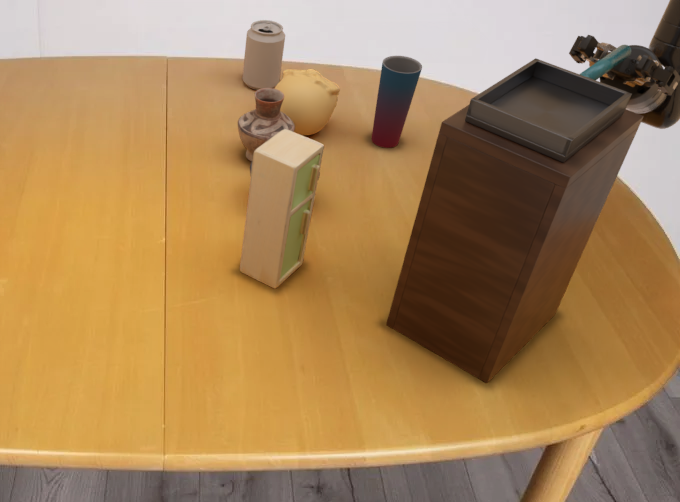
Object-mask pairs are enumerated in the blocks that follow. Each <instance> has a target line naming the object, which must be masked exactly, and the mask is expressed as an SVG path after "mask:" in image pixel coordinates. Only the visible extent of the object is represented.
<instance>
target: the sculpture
mask: <svg viewBox="0 0 680 502" xmlns="http://www.w3.org/2000/svg"><path fill="white" fill-rule="evenodd" d="M274 89H277V90H279V91H281V92H282V93H283V94H284V100H283V102H282V105H281V108H280V111H281V112H283V113H284V114H286V115H287V116H288V117H289V118H290V119H291V120H292V121H293V123H294V125H295V130H294V132H295V133H297V134H300V135H302V136H310V135H314V134H316V133H319V132H320V131H322V130H323V129H324V128H325V126H326V125H327V124H328V122H329V120H330V119H331V117H332V115H333V113H334V111H335V109H336V107H337V106H338V105H337V104H338V99H339V97H338V96H339V95H340V91H341V88H340V87H339V85H338V84H337V83H336V82H334V81H332V80H329V79H327V78H326V77H325V76H323V75H322V73H320V72H319V71H318V70H316V69H314V68H307V69H291V68H290V69H284V70H283V71H282V78H281V79H280V80H279V83H278V84H277V85H276V86H275V87H274Z"/></svg>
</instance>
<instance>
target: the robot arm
mask: <svg viewBox="0 0 680 502" xmlns="http://www.w3.org/2000/svg"><path fill="white" fill-rule="evenodd" d="M628 46H629V47H630V48H631V54H630V56H629V57H628V58H626V59H625V60H623V61H622V62H621V63H619V64H618V65H617V66H615V67H614V68H612V69H611V70H610V71H608V72H607V73H605V74H604V75H603V76H601V77H600V78H599V82H601V83H604V84H607V85H610V86H612V87H615V88H618V89H620V90H623V91H626V92H629V93H631V94H632V95H631V97H630V100H629V102H628V104H627V107H626V110H629V111H632V112H634V113H637V114H640V115H642V116H643V119H642V121H641V123H642V124H644V125H647V126H650V127H652V128H656V129H659V130H665V129H666V130H667V129H668V128H671V127H673V126H674V125H675V124H677V123H678V122H679V121H680V0H669V2H668V4H667V6H666V8H665V9H664V12H663V15H662V17H661V18H660V21H659V23H658V25H657V27H656V29H655V31H654V33H653V36H652V38H651V40H650V42H649V45H648V47H647V46H643V45H638V44H631V45H628ZM616 48H617V47H616V46H615V45H613V44H611V43H607V42H599V41H598V39H596V37H595V36H594V35H591V34H587V35H586V36H583V35H577V37H576V39H575V41H574V42H573V45H572V47H571V48H570V50H569V52H568V54H569V56H570V57H571V58H572V60H573V61H574V62H575V63H576V64H578V65H579V64H585V63H586V62H588V66H589V67H590V66H592V65H593V64H595V63H596V62H598V61H599V60H601V59H602V58H603V57H605V56H606V55H608V54H609V53H611V52H612V51H614V50H615V49H616ZM595 50H596V51H595Z"/></svg>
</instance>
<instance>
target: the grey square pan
mask: <svg viewBox="0 0 680 502" xmlns="http://www.w3.org/2000/svg"><path fill="white" fill-rule="evenodd" d="M610 52H611V51H610ZM630 54H631V48H630V47H629V45H628V44H621V45H619V46H618V47H616V49H615V50H614V51H612V52H611V53H609V54H608V55H606V56H605V57H603V58H602V59H601V60H599V61H598V62H596V63H595V64H593V65H592V66H589V67H588V68H585V70H583V71H582V72H580V73H577V72H575V71H572V70H569V69H566V68H563V67H561V66H557V65H554V64H553V63H550V62H547V61H544V60H541V59H539V58H536V57H535V58H534V59H532V60H530V61H529V62H527V63H526V64H524V65H523V66H521V67H520V68H518V69H516V70H515V71H513V72H512V73H510V74H508V75H506V76H505V77H504V78H502V79H500V80H498V81H497V82H496V83H494V84H492V85H491V86H489V87H488V88H486V89H485V90H483V91H482V92H480V93H478V94H477V95H475V96H474V97H471V98H470V100H469V104H468V105H469V107H468V111H467V114H466V118H465V121H466V122H469V123H471V124H474V125H476V126H478V127H481V128H483V129H485V130H488V131H490V132H492V133H495V134H497V135H499V136H502V137H504V138H507V139H509V140H511V141H514V142H516V143H518V144H521V145H523V146H525V147H528V148H530V149H533V150H535V151H537V152H540V153H542V154H544V155H547V156H549V157H551V158H554V159H556V160H558V161H561V162H565V161H566V160H567V159H569V158H570V157H571V156H572V155H574V154H575V153H576V152H577V151H578V150H580V149H581V148H582V147H583V146H585V145H586V144H587V143H588V142H590V141H591V140H592V139H593V138H595V137H596V136H597V135H598V134H600V133H601V132H602V131H603V130H605V129H606V128H607V127H608V126H610V125H611V124H612V123H613V122H615V121H616V120H617V119H618V118H620V117H621V116H622V115H623V114H624V111H625V109H626V107H627V104H628V102H629V100H630V97H631V95H632V94H631V93H629V92H626V91H623V90H620V89H618V88H615V87H612V86H610V85H607V84H604V83H601V82H600V80H599V79H600V77H601V76H603V75H604V74H605V73H607V72H608V71H610V70H611V69H612V68H614V67H615V66H617V65H618V64H619V63H621V62H622V61H623V60H625V59H626V58H628V57H629V56H630ZM598 80H599V81H598Z"/></svg>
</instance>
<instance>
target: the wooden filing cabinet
mask: <svg viewBox="0 0 680 502" xmlns="http://www.w3.org/2000/svg"><path fill="white" fill-rule="evenodd" d="M468 107H469V104H468V105H465V106H464V107H463V108H461V109H460V110H458V111H457V112H455V113H453V114H452V115H450V116H449V117H447V118H446V119H444V120H442V121H441V124H440V127H439V131H438V135H437V138H436V141H435V145H434V148H433V153H432V156H431V159H430V164H429V167H428V171H427V174H426V178H425V180H424V181H425V182H424V184H423V188H422V189H423V190H422V192H421V196H420V200H419V204H418V207H417V210H416V215H415V218H414V221H413V225H412V229H411V233H410V235H409V240H408V244H407V247H406V251H405V254H404V258H403V261H402V265H401V269H400V273H399V276H398V280H397V282H396V283H397V284H396V286H395V287H396V288H395V290H394V295H393V298H392V302H391V305H390V309H389V313H388V316H387V320H386V323H385V324H386V326H388V327H389V328H390V329H393V330H394V331H396V332H398V333H399V334H401V335H403V336H405V337H406V338H408V339H410V340H411V341H413V342H415V343H417V344H418V345H420V346H422V347H424V348H426V349H427V350H429V351H430V352H432V353H434V354H436V355H438V356H439V357H441V358H443V360H444V359H445V360H446V361H448V362H449V363H451V364H453V365H455V366H457V367H458V368H460V369H462V370H464V371H466V372H467V373H468V374H470V375H471V376H473V377H475V378H477V379H478V380H481V381H482V382H484V383H486V384H488V383H489V382H490V381H491V380H492V379H493V378H494V377H495V376H496V375H497V374H498V373H499V372H500V371H501V370H502V369H503V368H504V367H505V366H506V365H507V364H508V363H509V362H510V361H511V360H512V359H513V358H514V357H515V356H516V355H517V354H518V352H520V351H521V350H522V348H523V347H525V346H526V345H527V344H528V343H529V341H531V339H532V338H533V337H534V336H535V335H537V334H538V333H539V331H540V330H542V328H544V327H545V325H546V324H548V322H550V321H551V319H553V317H555V315H556V313H557V311H558V310H559V307H560V305H561V302H562V300H563V297H564V295H565V294H566V291H567V289H568V287H569V284H570V282H571V280H572V278H573V276H574V273H575V272H576V268H577V266H578V264H579V262H580V259H581V257H582V255H583V253H584V251H585V248H586V246H587V244H588V242H589V240H590V237H591V236H592V233H593V230H594V228H595V226H596V224H597V221H598V219H599V217H600V216H601V213H602V212H603V211H602V210H603V208H604V206H605V204H606V202H607V199H608V198H609V195H610V193H611V190H612V188H613V186H614V184H615V181H616V180H617V177H618V175H619V172H620V171H621V168H622V166H623V164H624V161H625V159H626V158H627V154H628V152H629V150H630V148H631V146H632V143H633V141H634V139H635V136H636V135H637V132H638V130H639V127H640V125H641V123H642V122H641V121H642V119H643V116H642V115H640V114H637V113H634V112H632V111H629V110H626V109H625V111H624V114H623V115H622V116H621V117H620V118H618V119H617V120H616V121H615V122H613V123H612V124H611V125H610V126H608V127H607V128H606V129H605V130H603V131H602V132H601V133H600V134H598V135H597V136H596V137H595V138H593V139H592V140H591V141H590V142H588V143H587V144H586V145H585V146H583V147H582V148H581V149H580V150H578V151H577V152H576V153H575V154H574V155H572V156H571V157H570V158H569V159H567V160H566V161H565V162H561V161H558V160H556V159H554V158H551V157H549V156H547V155H544V154H542V153H540V152H537V151H535V150H533V149H530V148H528V147H525V146H523V145H521V144H518V143H516V142H514V141H511V140H509V139H507V138H504V137H502V136H499V135H497V134H495V133H492V132H490V131H488V130H485V129H483V128H481V127H478V126H476V125H474V124H471V123H469V122H466V121H465V118H466V114H467V111H468Z"/></svg>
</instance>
